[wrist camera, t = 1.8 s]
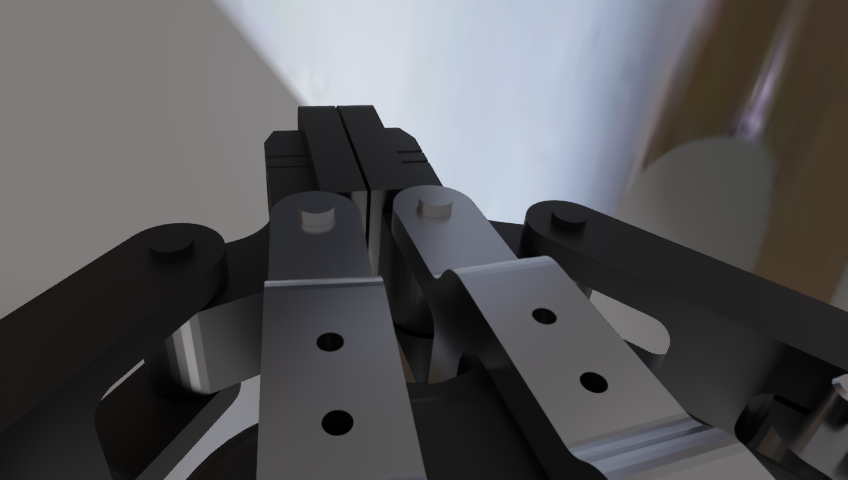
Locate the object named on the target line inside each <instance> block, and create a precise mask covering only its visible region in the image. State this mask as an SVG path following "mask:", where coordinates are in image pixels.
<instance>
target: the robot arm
mask: <svg viewBox="0 0 848 480" xmlns="http://www.w3.org/2000/svg"><path fill="white" fill-rule="evenodd" d="M264 149H265V164H266V180H267V195H268V211H269V222H268V223H267V224H266V225H265V226H264V227H263V228H262V229H261V230H259V231H258V232H256V233H254V234H252V235H250V236H248V237H245V238H243V239H240V240H236V241H233V242H229V243H225V242H224V240H223V238H222V236H221V235H220V234H219V233H217V232H216V231H214V230H213V229H211V228H208V227H206V226H202V225H198V224H191V223H174V224H165V225H160V226H156V227H153V228H149V229H147V230H144V231H142V232H140V233H138V234H136V235H134V236H132V237H131V238H129V239H127V240H126V241H124V242H123V243H121V244H120V245H118V246H116V247H115V248H113V249H112V250H110V251H108V252H107V253H105V254H104V255H102V256H100V257H99V258H97V259H96V260H94V261H93V262H91V263H89V264H88V265H86V266H85V267H83V268H81V269H80V270H78V271H77V272H75V273H74V274H72V275H70V276H69V277H67V278H66V279H64V280H63V281H61V282H59V283H58V284H56V285H55V286H53V287H51V288H50V289H48V290H46V291H45V292H43V293H42V294H40V295H39V296H37V297H35V298H34V299H32V300H31V301H29V302H28V303H26V304H24V305H23V306H21V307H20V308H18V309H16V310H15V311H13V312H12V313H10V314H8V315H7V316H5V317H4V318H2V319H0V480H163V479H164V478H165V477H166V476H167V475H168V474H169V473H170V472H171V471H172V470H173V468H174V467H175V466H176V465H177V464H178V463H179V462H180V461H181V460H182V459H183V457H184V456H185V455H186V454H187V453H188V452H189V451H190V450H191V449H192V447H193V446H194V445H195V444H196V443H197V442H198V441H199V440H200V439H201V437H202V436H203V435H204V434H205V433H206V432H207V431H208V430H209V429H210V428H211V427H212V425H213V424H214V423H215V422H216V421H217V420H218V419H219V418H220V417H221V415H222V414H223V413H224V412H225V411H226V410H227V409H228V408H229V406H231V404H232V403H233V402H234V400H235V399H236V398H237V396H238V394H239V392H240V388H241V382H242V381H245V380H247V379H250V378H252V377H255V376H257V375H260V374H261V376H260V400H259V423H257V424H255V425H253V426H251V427H249V428H247V429H245V430H243V431H242V432H241V433H239V434H237V435H235V436H234V437H232V438H231V439H229V440H228V441H226V442H225V443H224V444H223V445H221V446H220V447H219V448H217V449H216V450H215V451H214V452H213V453H211V454H210V455H209V456H208V457H207V458H206V459H205V460H204V461H203V462H202V463H201V464H200V465H199V466H198V467H197V468H196V469H195V470H194V471H193V472H192V473H191V474H190V476H189V477H188V478H187V479H186V480H848V312H846V311H844V310H842V309H839V308H836V307H834V306H832V305H829V304H827V303H824V302H822V301H819V300H817V299H814V298H812V297H809V296H807V295H804V294H802V293H799V292H797V291H794V290H792V289H789V288H787V287H784V286H782V285H779V284H777V283H774V282H772V281H769V280H767V279H764V278H762V277H759V276H757V275H754V274H752V273H749V272H747V271H744V270H742V269H739V268H737V267H734V266H732V265H729V264H727V263H725V262H722V261H720V260H717V259H715V258H712V257H710V256H707V255H705V254H702V253H700V252H697V251H695V250H692V249H690V248H687V247H684V246H682V245H680V244H677V243H674V242H672V241H670V240H667V239H665V238H662V237H659V236H657V235H655V234H652V233H649V232H647V231H645V230H642V229H640V228H637V227H635V226H632V225H630V224H627V223H625V222H622V221H620V220H617V219H615V218H613V217H610V216H608V215H605V214H603V213H600V212H598V211H595V210H593V209H590V208H588V207H585V206H582V205H579V204H576V203H572V202H567V201H558V200H550V201H543V202H539V203H536V204H534V205H532V206H531V207H530V208H529V209H528V210H527V212H526V216H525V221H524V225H522V224H514V223H505V222H497V221H491V220H487V219H486V217H485V216H484V215H483V214H482V212H481V211H480V210H479V208H478V207H477V206H476V205H475V203H474V202H473V201H472V200H471V199H470V198H469V197H467V196H466V195H465V194H463V193H461V192H459V191H456V190H454V189H451V188H447V187H443V185H442V184H441V182H440V180H439V179H438V177H437V175H436V173H435V172H434V170H433V168H432V167H431V165H430V163H428V160H427V158H426V156H425V155H424V153H422V150H421V148H420V146H419V144H418V143H417V141H416V139H415V138H414V137H412V136H411V135H409V134H408V133H406V132H405V131H403V130H402V129H400V128H384V126H383V124H382V122H381V120H380V118H379V116H378V114H377V112H376V110H375V108H374V106H373V105H350V106H337V107H335V106H299V107H298V131H297V130H295V131H273V133H272V134H271V135H270V136H269V137H268V139H267V140H266V141H265V142H264ZM592 290H596V291H598V292H600V293H602V294H604V295H606V296H608V297H611V298H613V299H615V300H617V301H619V302H621V303H623V304H626V305H628V306H630V307H632V308H634V309H636V310H638V311H641V312H643V313H645V314H647V315H649V316H651V317H653V318H655V319H657V320H658V321H660V322H661V323H662V324H663V325H664V326H665V327H666V329H667V331H668V332H669V335H670V346H669V348H668V351H667V353H666V354H663V355H659V354H654V353H651V352H648V351H646V350H644V349H642V348H640V347H638V346H636V345H634V344H632V343H630V342H628V341H626V340H624V339H622V338H621V336H620V335H619V334H618V333H617V332H616V331H615V329H614V328H613V327H612V326H611V325H610V324H609V323H608V321H607V320H606V319H605V318H604V317H603V315H602V314H601V313H600V312H599V311H598V310H597V309H596V307H595V306H594V305H593V304H592V303H591V302H590V300H589V299H590V296H591V293H592ZM143 359H144V362H145V363H144V364H143V365H142V366H141V367H140V368H138V369H137V370H136V371H135V372H134V373H132V374H131V375H130V376H129V377H128V378H127V379H126V380H124V381H123V382H122V383H121V384H120V385H119V386H117V387H116V388H115V389H114V390H113V391H112V392H111V393H109V394H108V395H107V396H106V397H105V398H103V399H102V397H103V396H104V394H105V393H106V392H107V391H108V390H109V388H110V387H111V386H112V385H113V384H115V382H117V381H118V380H119V379H120V378H121V377H123V376H124V375H125V374H126V373H127V372H129V371H130V370H131V369H132V368H133V367H134V366H136V365H137V364H138V363H139V362H140V361H141V360H143ZM101 399H102V400H101Z"/></svg>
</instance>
